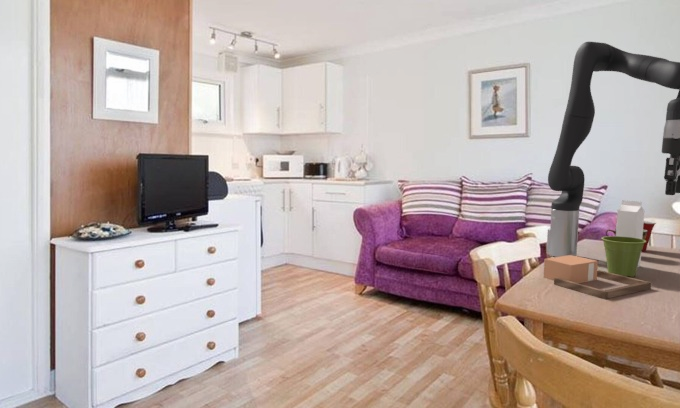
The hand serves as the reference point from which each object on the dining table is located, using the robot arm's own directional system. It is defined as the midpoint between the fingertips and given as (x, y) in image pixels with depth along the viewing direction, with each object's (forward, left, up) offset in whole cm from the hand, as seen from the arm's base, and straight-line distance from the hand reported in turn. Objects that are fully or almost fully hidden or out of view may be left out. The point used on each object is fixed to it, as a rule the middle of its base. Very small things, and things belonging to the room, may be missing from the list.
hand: (673, 193), depth 130 cm
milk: (-18, +10, -26) cm, 33 cm away
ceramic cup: (-28, +25, -26) cm, 46 cm away
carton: (-16, -21, -26) cm, 37 cm away
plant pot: (-12, -3, -26) cm, 29 cm away
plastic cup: (-32, +40, -26) cm, 58 cm away
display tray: (-7, -21, -26) cm, 34 cm away
